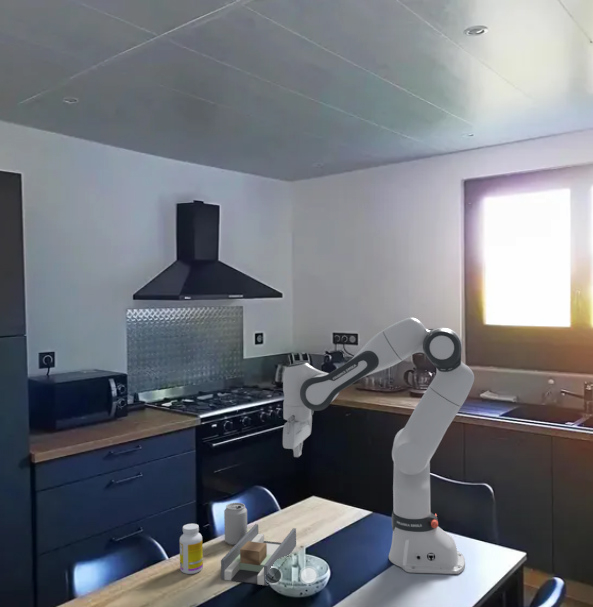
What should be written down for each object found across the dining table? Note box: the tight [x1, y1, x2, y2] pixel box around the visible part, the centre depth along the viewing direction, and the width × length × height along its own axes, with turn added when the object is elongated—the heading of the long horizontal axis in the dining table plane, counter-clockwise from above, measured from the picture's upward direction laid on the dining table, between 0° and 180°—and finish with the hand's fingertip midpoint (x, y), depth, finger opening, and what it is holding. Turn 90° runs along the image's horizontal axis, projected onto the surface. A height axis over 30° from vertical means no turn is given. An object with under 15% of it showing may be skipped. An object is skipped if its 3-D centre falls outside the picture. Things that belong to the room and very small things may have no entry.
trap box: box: [220, 523, 297, 587], centre depth 180 cm, size 14×28×6 cm, turn 163°
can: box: [223, 502, 248, 546], centre depth 194 cm, size 8×8×12 cm
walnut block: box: [240, 541, 267, 565], centre depth 175 cm, size 6×6×4 cm
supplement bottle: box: [179, 523, 204, 575], centre depth 175 cm, size 7×7×13 cm
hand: (297, 455), depth 190 cm, fingers closed
